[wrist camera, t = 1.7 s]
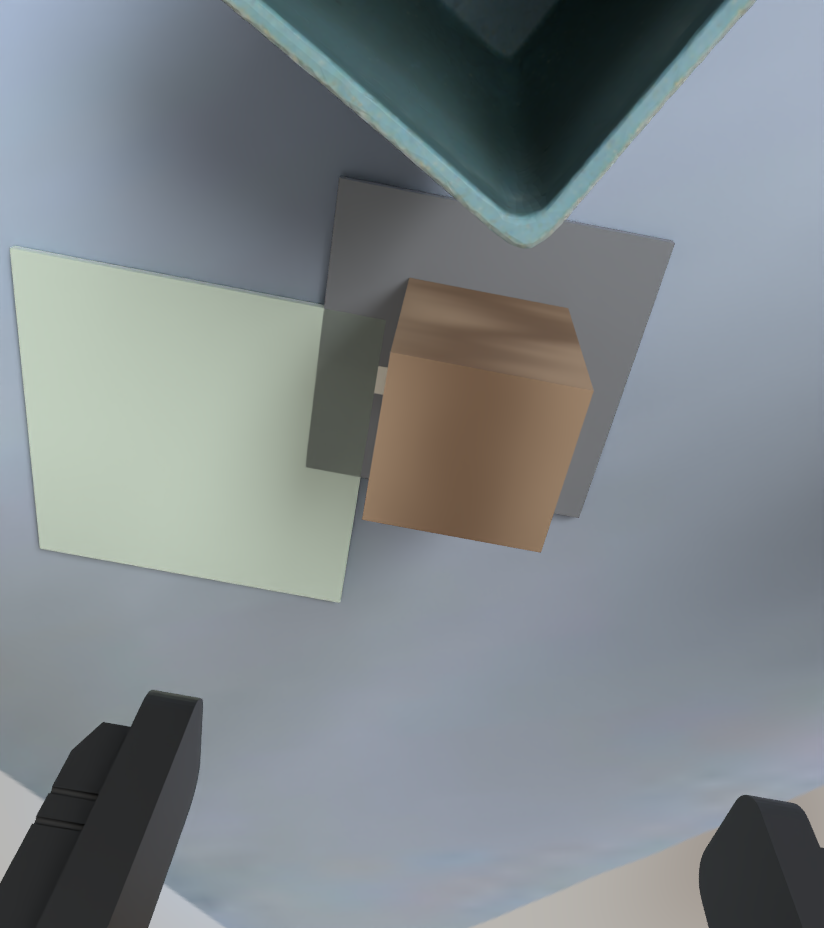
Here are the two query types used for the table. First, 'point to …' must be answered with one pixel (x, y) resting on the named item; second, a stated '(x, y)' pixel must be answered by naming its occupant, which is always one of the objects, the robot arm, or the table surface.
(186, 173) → the table surface
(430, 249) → the tile
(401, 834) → the table surface
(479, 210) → the flower pot
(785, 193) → the table surface
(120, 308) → the coaster
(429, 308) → the walnut block
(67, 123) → the table surface
